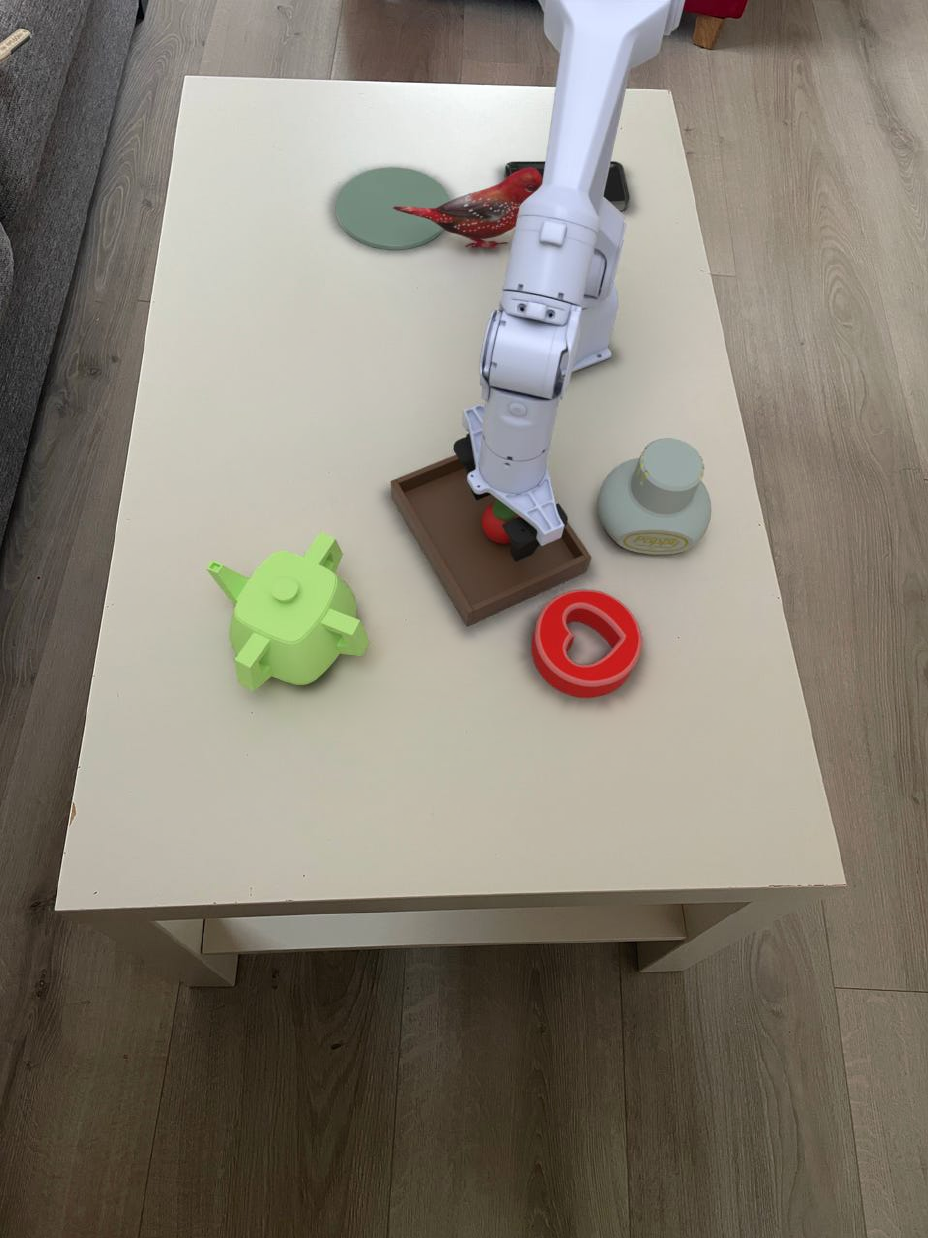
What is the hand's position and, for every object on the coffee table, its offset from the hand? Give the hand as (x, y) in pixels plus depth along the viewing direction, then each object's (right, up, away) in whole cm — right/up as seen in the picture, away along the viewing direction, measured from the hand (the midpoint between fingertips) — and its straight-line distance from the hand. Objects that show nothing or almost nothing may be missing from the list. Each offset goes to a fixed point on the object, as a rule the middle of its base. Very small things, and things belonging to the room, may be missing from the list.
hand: (503, 524), depth 82 cm
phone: (+9, +45, +25) cm, 52 cm away
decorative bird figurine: (-3, +37, +15) cm, 40 cm away
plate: (-12, +41, +23) cm, 48 cm away
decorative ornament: (+7, -12, -3) cm, 14 cm away
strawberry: (0, 0, 0) cm, 0 cm away
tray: (-1, -1, +2) cm, 3 cm away
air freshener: (+15, +1, +4) cm, 15 cm away
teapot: (-19, -11, -3) cm, 22 cm away
